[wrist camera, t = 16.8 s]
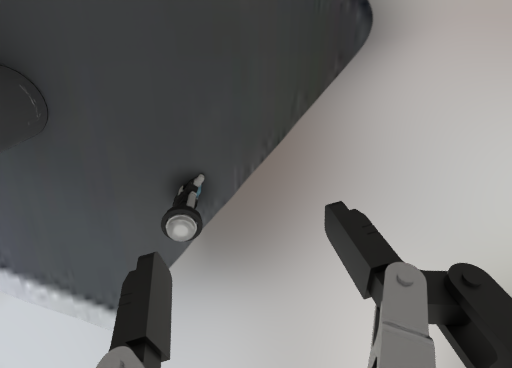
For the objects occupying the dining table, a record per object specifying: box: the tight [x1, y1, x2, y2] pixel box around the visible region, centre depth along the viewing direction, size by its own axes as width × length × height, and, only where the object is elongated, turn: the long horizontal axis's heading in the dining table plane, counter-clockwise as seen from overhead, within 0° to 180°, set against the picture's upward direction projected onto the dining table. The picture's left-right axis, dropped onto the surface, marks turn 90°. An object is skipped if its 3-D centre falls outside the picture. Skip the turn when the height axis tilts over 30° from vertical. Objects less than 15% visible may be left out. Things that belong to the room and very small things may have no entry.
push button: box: [161, 174, 204, 241], centre depth 38 cm, size 7×5×10 cm
